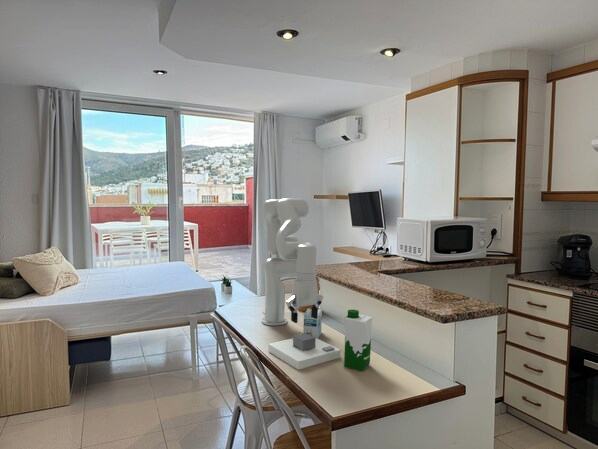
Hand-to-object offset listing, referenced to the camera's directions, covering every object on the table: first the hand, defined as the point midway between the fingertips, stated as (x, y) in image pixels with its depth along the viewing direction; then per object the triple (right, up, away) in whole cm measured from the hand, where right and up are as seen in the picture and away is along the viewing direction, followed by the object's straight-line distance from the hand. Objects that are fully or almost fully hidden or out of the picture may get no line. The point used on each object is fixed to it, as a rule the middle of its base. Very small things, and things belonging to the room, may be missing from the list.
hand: (304, 319), depth 152 cm
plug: (0, -13, +1) cm, 13 cm away
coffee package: (+2, -10, +65) cm, 66 cm away
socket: (0, -14, +1) cm, 14 cm away
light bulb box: (+4, -13, +22) cm, 26 cm away
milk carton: (+19, -15, -9) cm, 26 cm away
